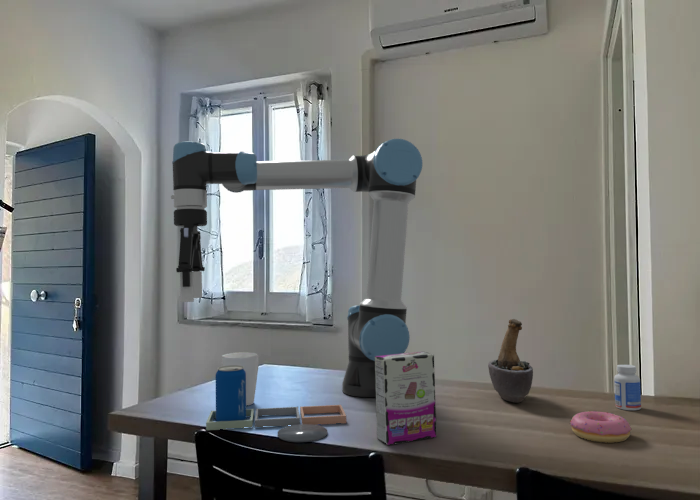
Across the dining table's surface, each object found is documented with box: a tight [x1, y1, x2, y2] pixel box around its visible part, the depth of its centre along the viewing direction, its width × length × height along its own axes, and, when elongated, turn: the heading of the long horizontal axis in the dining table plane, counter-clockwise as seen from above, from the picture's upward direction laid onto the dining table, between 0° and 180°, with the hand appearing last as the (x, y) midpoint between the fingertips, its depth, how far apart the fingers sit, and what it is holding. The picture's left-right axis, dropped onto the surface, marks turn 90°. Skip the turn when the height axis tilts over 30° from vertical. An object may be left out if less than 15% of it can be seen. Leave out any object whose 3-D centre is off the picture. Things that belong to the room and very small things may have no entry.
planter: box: [488, 318, 534, 404], centre depth 140 cm, size 15×17×20 cm
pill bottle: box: [613, 364, 642, 411], centre depth 130 cm, size 6×5×10 cm
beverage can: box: [215, 365, 247, 422], centre depth 122 cm, size 6×6×12 cm
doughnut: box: [569, 410, 632, 444], centre depth 110 cm, size 11×11×4 cm
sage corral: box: [205, 408, 255, 431], centre depth 122 cm, size 10×10×2 cm
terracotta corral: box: [299, 404, 347, 425], centre depth 125 cm, size 10×10×2 cm
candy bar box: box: [375, 351, 437, 446], centre depth 110 cm, size 11×5×16 cm, turn 114°
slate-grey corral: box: [254, 406, 301, 428], centre depth 123 cm, size 10×10×2 cm
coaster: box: [277, 423, 328, 443], centre depth 113 cm, size 10×10×1 cm
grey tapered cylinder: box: [221, 351, 259, 407], centre depth 139 cm, size 9×9×12 cm
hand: (192, 300), depth 131 cm, fingers open, 13 cm apart
